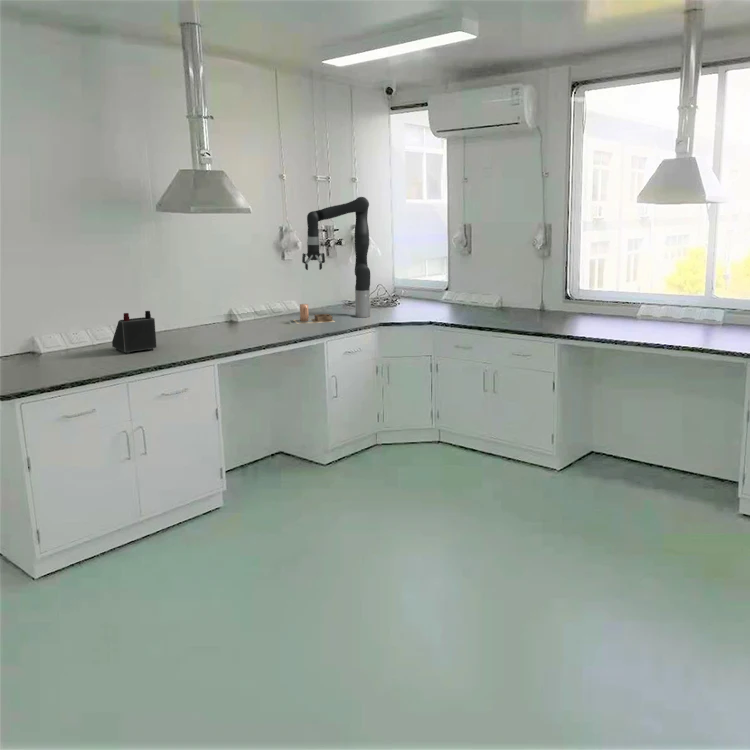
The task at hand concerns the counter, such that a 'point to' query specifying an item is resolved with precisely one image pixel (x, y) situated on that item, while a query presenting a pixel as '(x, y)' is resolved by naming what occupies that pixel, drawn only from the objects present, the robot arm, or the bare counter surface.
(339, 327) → the counter surface
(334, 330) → the counter surface
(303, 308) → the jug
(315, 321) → the station board
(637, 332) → the counter surface
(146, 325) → the voltmeter
